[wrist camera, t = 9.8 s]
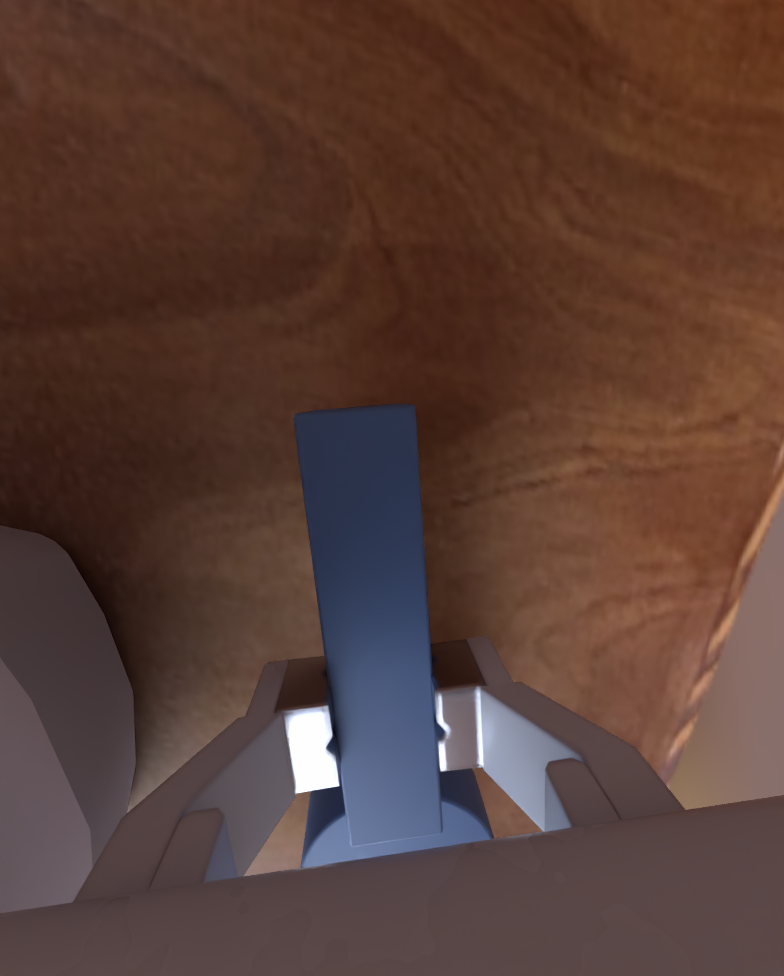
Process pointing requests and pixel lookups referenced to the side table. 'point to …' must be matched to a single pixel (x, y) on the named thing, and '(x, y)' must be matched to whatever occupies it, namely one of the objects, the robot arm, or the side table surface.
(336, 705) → the blue rounded-end bar
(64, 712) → the bowl
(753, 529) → the side table surface
